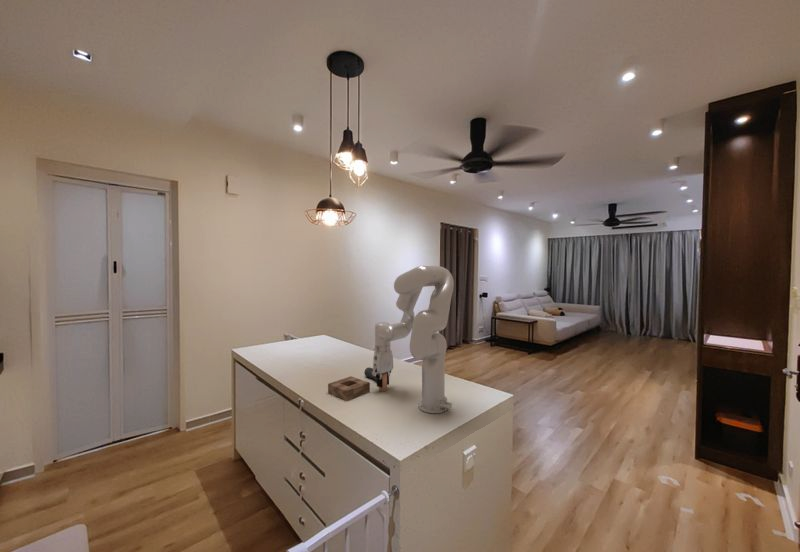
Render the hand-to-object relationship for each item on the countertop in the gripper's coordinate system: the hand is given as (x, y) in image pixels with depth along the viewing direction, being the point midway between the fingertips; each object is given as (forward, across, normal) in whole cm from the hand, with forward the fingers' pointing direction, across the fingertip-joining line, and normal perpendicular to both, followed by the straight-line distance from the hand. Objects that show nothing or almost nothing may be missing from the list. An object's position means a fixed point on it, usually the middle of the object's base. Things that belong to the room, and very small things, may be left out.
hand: (383, 385), depth 152 cm
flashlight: (+3, +8, +13) cm, 15 cm away
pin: (+2, 0, 0) cm, 2 cm away
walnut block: (+2, -13, +10) cm, 17 cm away
